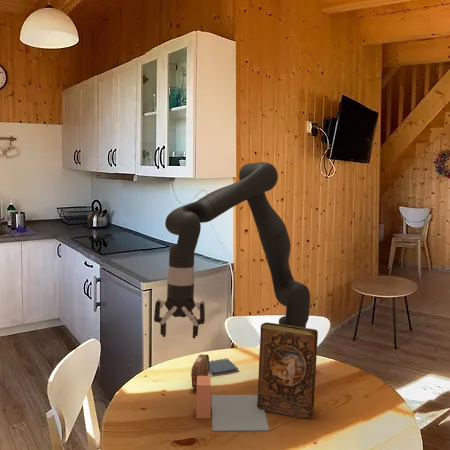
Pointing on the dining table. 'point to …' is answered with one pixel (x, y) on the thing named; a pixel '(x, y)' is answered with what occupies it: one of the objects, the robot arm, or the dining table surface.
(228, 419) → the slate pad
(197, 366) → the tin
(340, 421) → the dining table surface
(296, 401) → the book
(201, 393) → the terracotta block
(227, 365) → the woven mat
